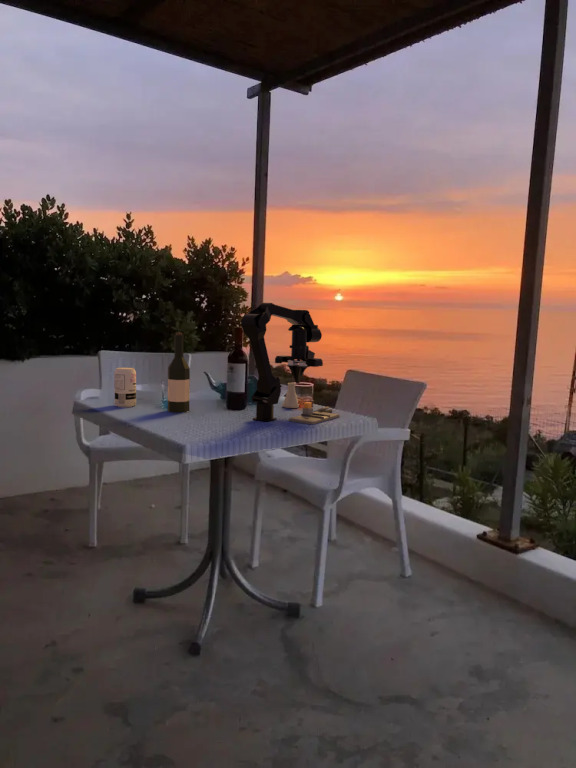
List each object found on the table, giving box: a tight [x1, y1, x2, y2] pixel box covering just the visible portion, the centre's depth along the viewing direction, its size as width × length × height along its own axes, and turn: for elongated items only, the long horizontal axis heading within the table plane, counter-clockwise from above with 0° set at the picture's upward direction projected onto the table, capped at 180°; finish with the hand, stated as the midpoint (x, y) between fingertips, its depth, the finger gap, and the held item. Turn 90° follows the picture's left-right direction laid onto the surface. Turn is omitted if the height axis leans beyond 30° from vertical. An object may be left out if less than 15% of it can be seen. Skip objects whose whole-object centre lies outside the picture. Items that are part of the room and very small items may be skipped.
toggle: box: [301, 401, 314, 415], centre depth 223 cm, size 3×3×4 cm
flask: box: [281, 382, 300, 409], centre depth 245 cm, size 7×7×10 cm
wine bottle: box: [167, 332, 191, 414], centre depth 227 cm, size 8×8×30 cm
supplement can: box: [113, 366, 137, 408], centre depth 235 cm, size 8×8×15 cm
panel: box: [288, 410, 340, 425], centre depth 221 cm, size 20×10×2 cm, turn 147°
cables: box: [313, 406, 333, 413], centre depth 234 cm, size 9×4×2 cm, turn 147°
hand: (297, 383), depth 228 cm, fingers closed
